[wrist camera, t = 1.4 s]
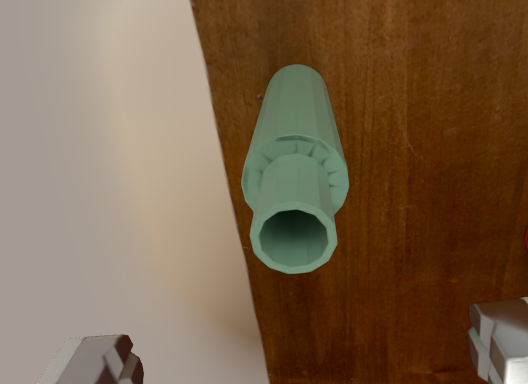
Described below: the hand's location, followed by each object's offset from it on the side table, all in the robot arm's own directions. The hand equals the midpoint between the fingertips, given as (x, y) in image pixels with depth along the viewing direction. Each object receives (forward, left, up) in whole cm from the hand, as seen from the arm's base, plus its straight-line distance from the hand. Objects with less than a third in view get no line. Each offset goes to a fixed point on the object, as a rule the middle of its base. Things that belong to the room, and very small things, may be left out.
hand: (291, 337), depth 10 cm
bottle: (0, 0, -23) cm, 23 cm away
